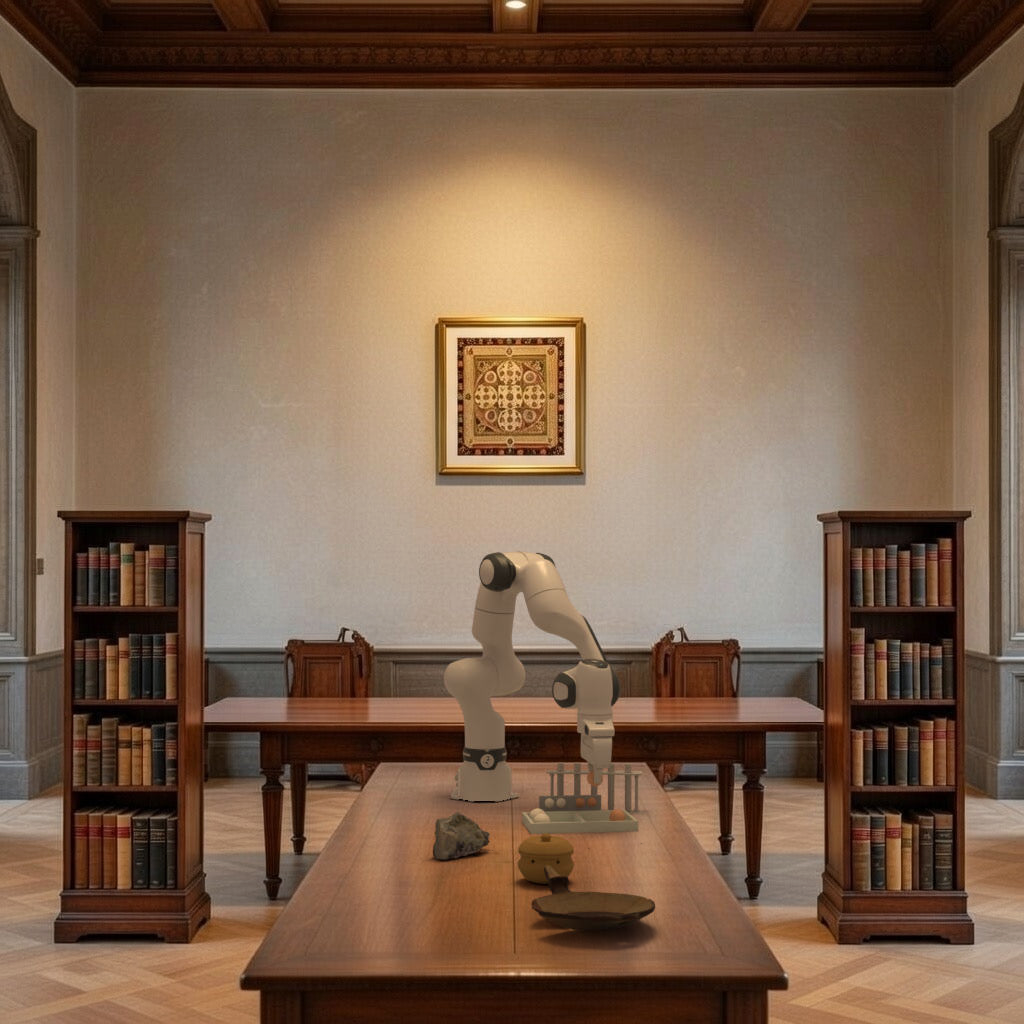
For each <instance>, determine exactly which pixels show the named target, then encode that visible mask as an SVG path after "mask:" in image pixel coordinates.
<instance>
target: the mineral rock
mask: <svg viewBox="0 0 1024 1024" xmlns="http://www.w3.org/2000/svg"><path fill="white" fill-rule="evenodd" d="M434 828H435V831H434V836H435V840H434V843H433V846H432V856H433V857H434V858H435V859H436V860H440V861H446V860H449V859H458V858H459V857H460V858H461V857H467V856H469V855H470V854H475V853H478V852H479V851H480V850H481V849H482V848H484V847H487V846H488V845H489V843H490V839H489V838H490V833H489V832H488V831H486V830H483V829H482V828H481V827H480V826H479V824H478V823H477V822H476V821H474V820H472V819H471V818H469V817H467V816H466V815H464V814H461V812H459V811H456V812H454V813H453V814H452V815H450V816H449V817H441V818H437V820H435V827H434ZM468 854H469V855H468Z"/></svg>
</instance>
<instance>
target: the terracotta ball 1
mask: <svg viewBox="0 0 1024 1024" xmlns="http://www.w3.org/2000/svg"><path fill="white" fill-rule="evenodd" d="M586 775H587V776H586V780H587V783H588V784H589V785H590V786H591V785H592V786H600V785H601V784H602V783H603V781H604V775H602V776H601V783H600V784H596V783H594V782H593V776H594V770H592V771H590V772H589V773H588V774H586Z"/></svg>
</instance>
